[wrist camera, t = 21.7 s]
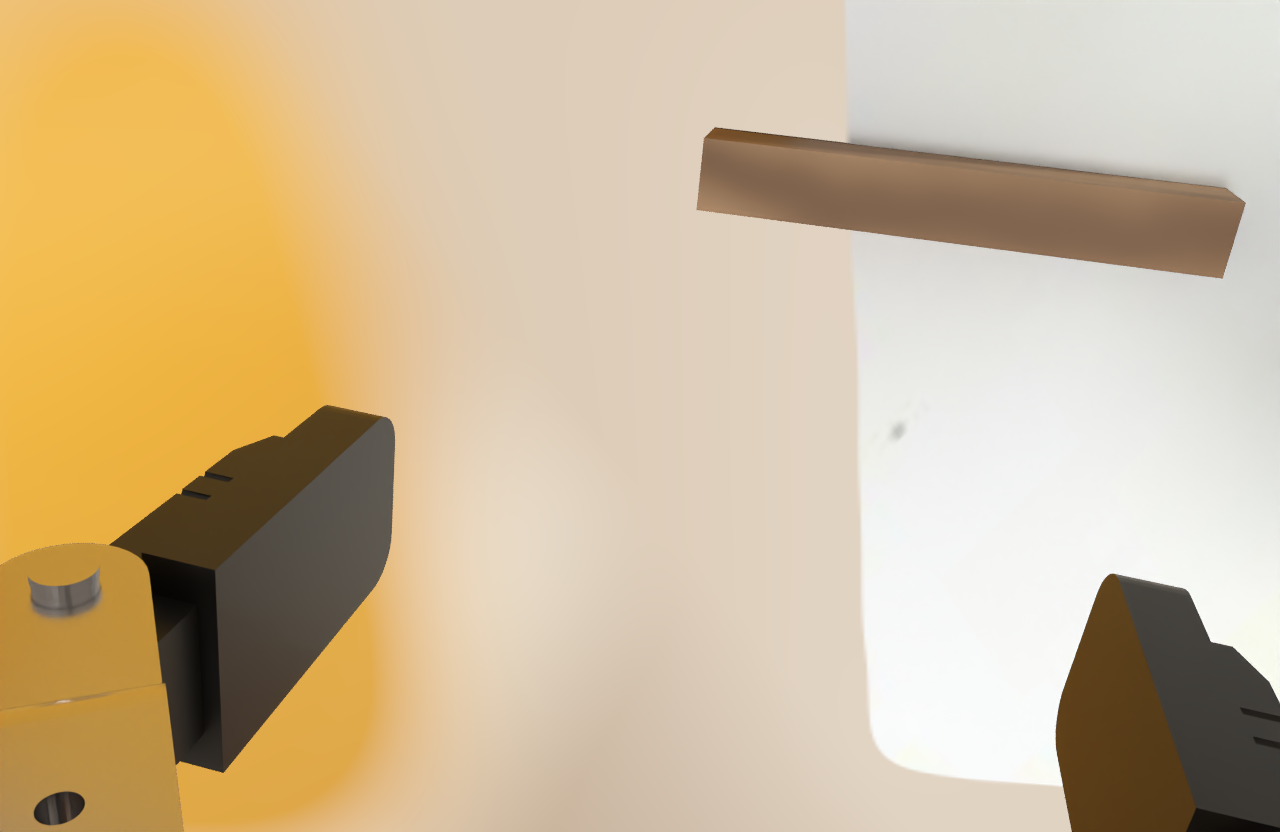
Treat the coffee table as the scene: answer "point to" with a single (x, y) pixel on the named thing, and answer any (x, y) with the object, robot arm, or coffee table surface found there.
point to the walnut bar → (971, 201)
